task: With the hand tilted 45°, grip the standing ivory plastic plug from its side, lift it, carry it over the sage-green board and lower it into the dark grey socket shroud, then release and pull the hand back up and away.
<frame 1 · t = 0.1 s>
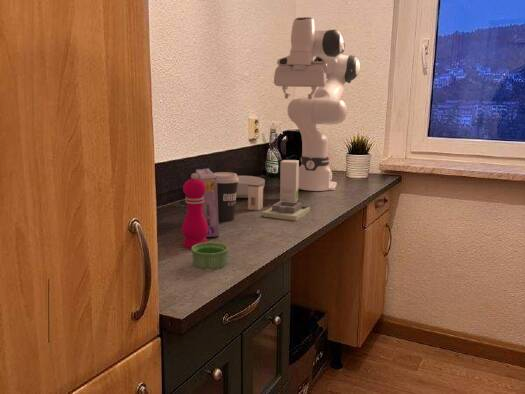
hand: (298, 98, 185), 39 cm above the kitchen counter, tool pointing down, fingers open, 8 cm apart
coffee cup: (224, 219, 161), on the kitchen counter
cake pan box: (207, 229, 149), on the kitchen counter
pepper mill: (195, 245, 133), on the kitchen counter
skincare box: (288, 201, 189), on the kitchen counter
cereal bowl: (243, 196, 196), on the kitchen counter
ramekin: (210, 265, 119), on the kitchen counter
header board: (287, 213, 169), on the kitchen counter
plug: (255, 208, 175), on the kitchen counter
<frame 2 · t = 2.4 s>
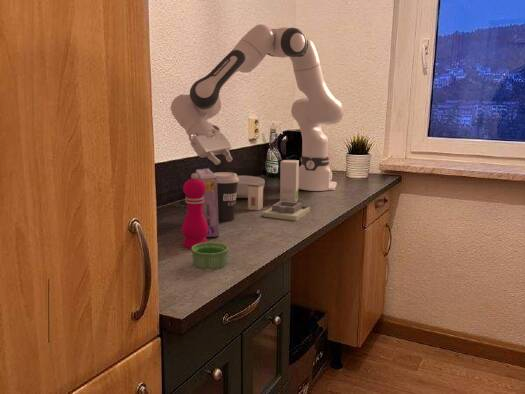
hand: (224, 162, 177), 16 cm above the kitchen counter, tool tilted 45°, fingers open, 8 cm apart
nothing on the kitchen counter moved.
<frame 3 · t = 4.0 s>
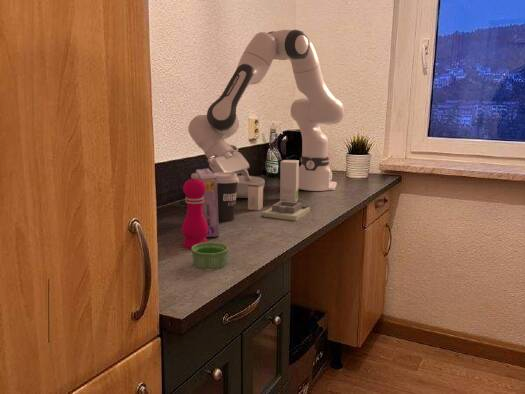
hand: (244, 183, 175), 9 cm above the kitchen counter, tool tilted 45°, fingers open, 8 cm apart
nothing on the kitchen counter moved.
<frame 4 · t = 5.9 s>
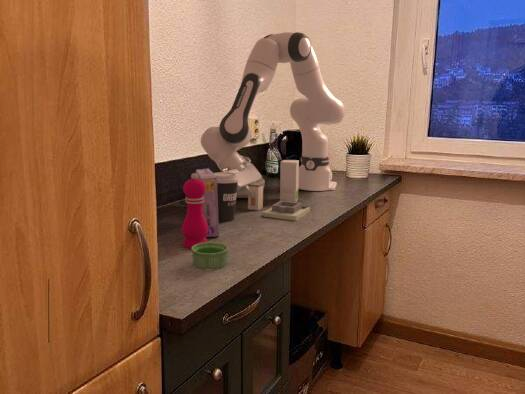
hand: (257, 195, 174), 5 cm above the kitchen counter, tool tilted 45°, fingers closed on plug, 4 cm apart
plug: (255, 208, 175), on the kitchen counter, touching gripper
everything else where it was.
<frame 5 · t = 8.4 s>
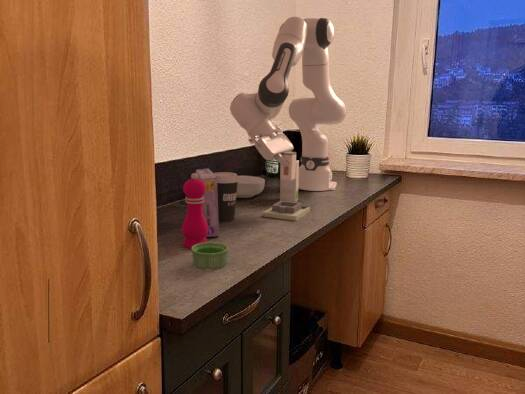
hand: (290, 164, 165), 17 cm above the kitchen counter, tool tilted 45°, fingers closed on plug, 4 cm apart
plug: (287, 178, 166), point 12 cm above the kitchen counter, touching gripper
everything else where it was.
when the fingers open (7 cm above the kitchen counter, at t = 11.0 s): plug stays where it is, resting on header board.
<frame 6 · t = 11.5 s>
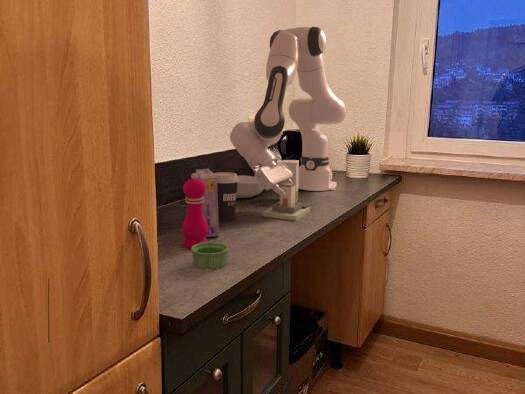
hand: (289, 193, 167), 7 cm above the kitchen counter, tool tilted 45°, fingers open, 8 cm apart
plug: (287, 209, 168), point 1 cm above the kitchen counter, touching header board
everything else where it was.
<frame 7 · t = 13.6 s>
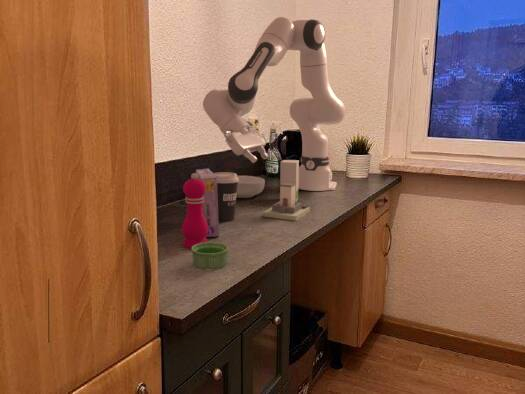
hand: (261, 159, 169), 18 cm above the kitchen counter, tool tilted 45°, fingers open, 8 cm apart
nothing on the kitchen counter moved.
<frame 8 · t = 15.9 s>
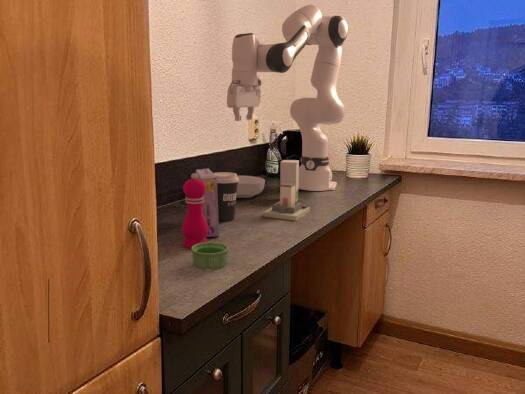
hand: (243, 120, 175), 31 cm above the kitchen counter, tool pointing down, fingers open, 8 cm apart
nothing on the kitchen counter moved.
at the end: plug 0.1 cm off-centre on the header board, point 1.5 cm above the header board's base; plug tilted 0°; the gripper is holding nothing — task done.
